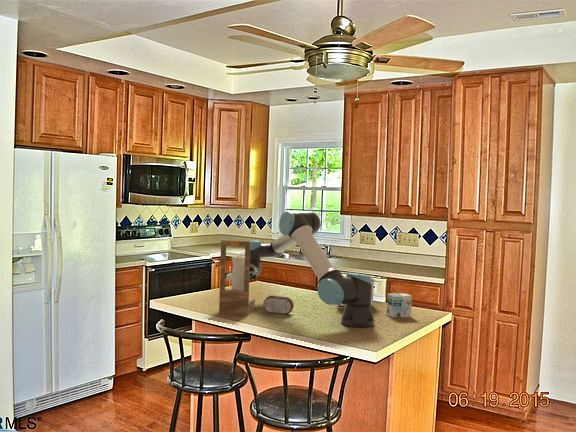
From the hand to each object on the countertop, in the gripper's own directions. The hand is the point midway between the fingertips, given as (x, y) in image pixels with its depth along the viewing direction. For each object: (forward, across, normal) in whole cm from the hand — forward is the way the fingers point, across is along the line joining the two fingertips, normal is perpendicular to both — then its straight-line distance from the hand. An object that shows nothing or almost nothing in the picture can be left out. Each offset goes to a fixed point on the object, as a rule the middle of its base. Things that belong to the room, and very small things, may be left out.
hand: (236, 278), depth 267 cm
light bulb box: (-21, -78, -17) cm, 83 cm away
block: (-36, -55, -17) cm, 68 cm away
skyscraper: (-5, 0, -16) cm, 16 cm away
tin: (-7, -20, -17) cm, 27 cm away
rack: (-4, 0, -17) cm, 17 cm away
